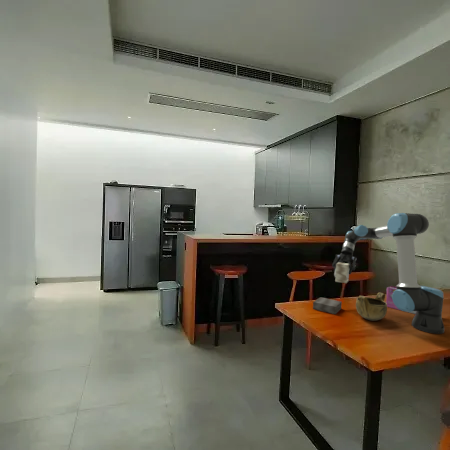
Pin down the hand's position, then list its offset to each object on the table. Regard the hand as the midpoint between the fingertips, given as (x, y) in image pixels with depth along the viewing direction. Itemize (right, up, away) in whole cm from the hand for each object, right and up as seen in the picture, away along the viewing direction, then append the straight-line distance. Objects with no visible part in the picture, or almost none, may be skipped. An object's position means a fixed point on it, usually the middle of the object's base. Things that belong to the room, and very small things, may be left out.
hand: (341, 276), depth 196 cm
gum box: (+44, -23, +1) cm, 49 cm away
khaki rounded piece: (+10, -22, -19) cm, 31 cm away
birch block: (+2, -4, +3) cm, 5 cm away
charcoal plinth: (-11, -21, -4) cm, 23 cm away
